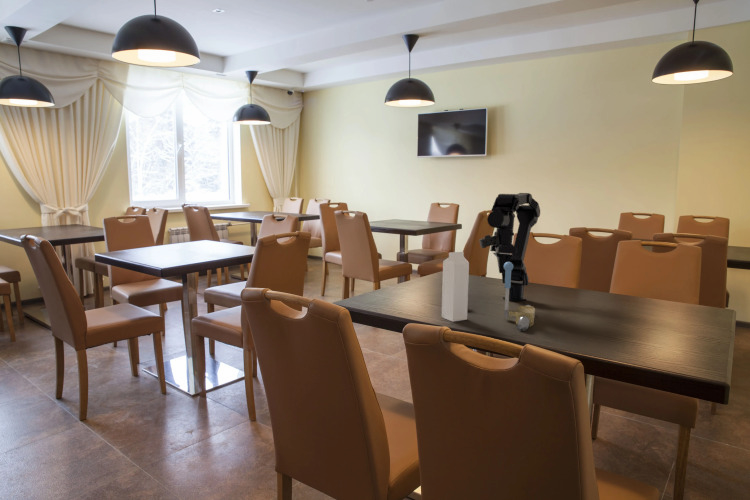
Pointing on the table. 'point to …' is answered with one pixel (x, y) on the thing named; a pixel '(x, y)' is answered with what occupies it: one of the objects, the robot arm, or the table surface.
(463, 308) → the milk
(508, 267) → the lever
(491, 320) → the table surface
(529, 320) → the valve
